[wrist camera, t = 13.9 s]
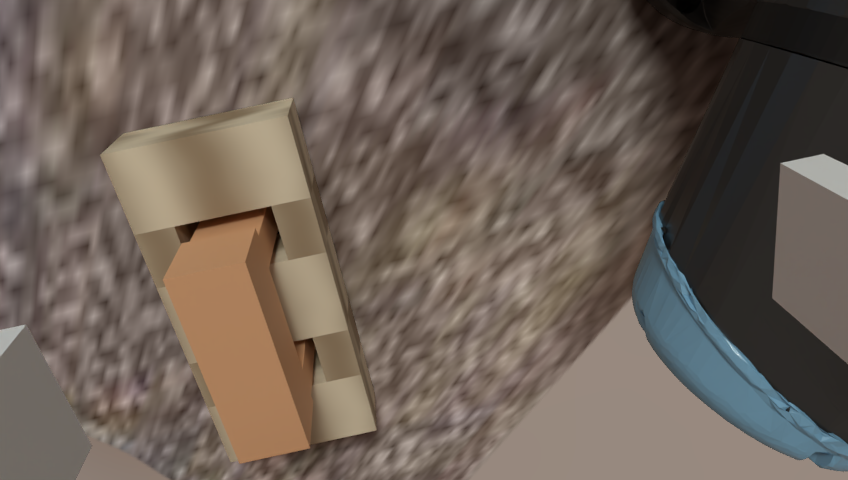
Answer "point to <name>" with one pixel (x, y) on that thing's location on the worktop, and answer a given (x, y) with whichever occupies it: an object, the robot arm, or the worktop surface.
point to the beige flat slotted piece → (293, 250)
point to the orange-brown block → (244, 334)
